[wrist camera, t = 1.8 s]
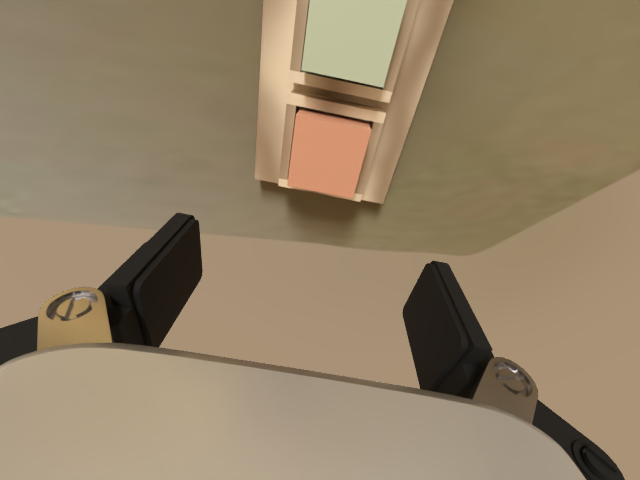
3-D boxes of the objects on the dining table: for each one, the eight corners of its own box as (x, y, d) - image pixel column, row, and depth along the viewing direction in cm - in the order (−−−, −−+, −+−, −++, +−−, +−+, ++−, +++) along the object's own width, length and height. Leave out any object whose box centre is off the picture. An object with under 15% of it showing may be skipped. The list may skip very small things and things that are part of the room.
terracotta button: (368, 122, 24) (371, 130, 22) (351, 185, 28) (352, 198, 25) (300, 108, 24) (295, 114, 21) (292, 173, 27) (287, 185, 25)
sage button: (404, -15, 19) (413, -24, 17) (378, 83, 23) (383, 87, 20) (319, -35, 19) (315, -48, 16) (305, 67, 22) (301, 69, 20)
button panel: (527, -240, 16) (582, -327, 12) (380, 196, 32) (386, 215, 28) (287, -306, 15) (269, -420, 12) (259, 172, 31) (248, 188, 27)
